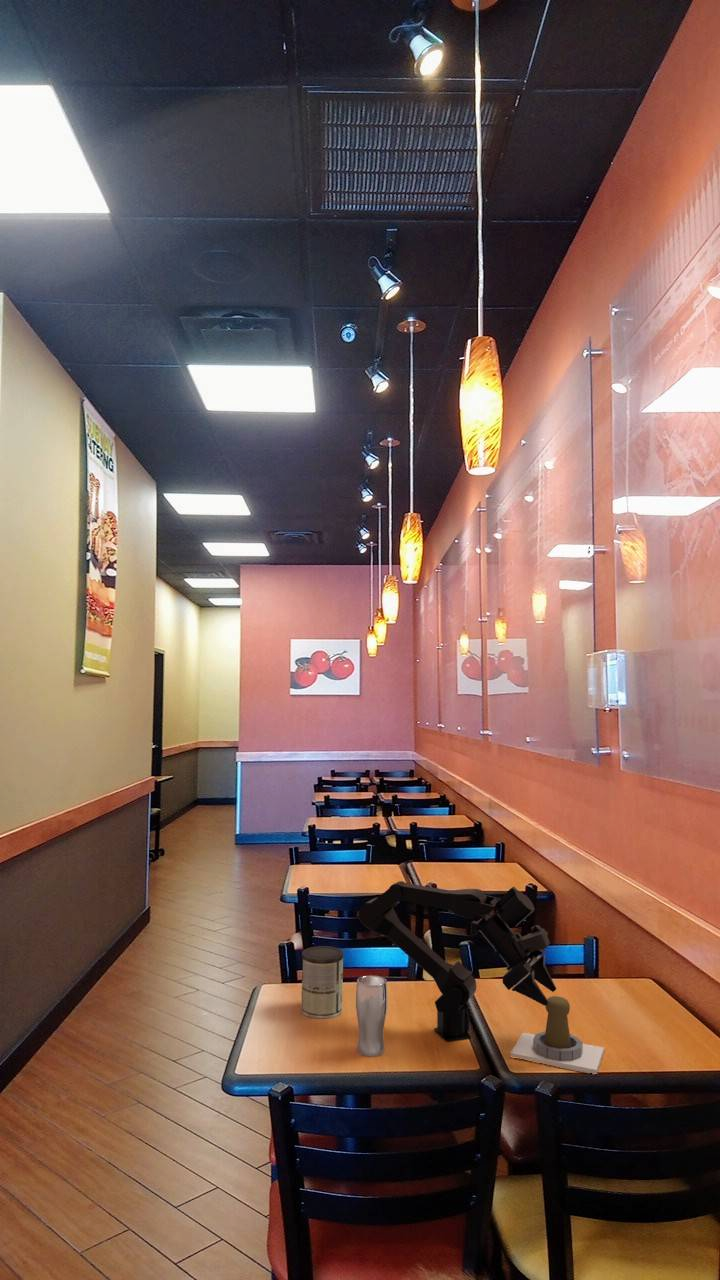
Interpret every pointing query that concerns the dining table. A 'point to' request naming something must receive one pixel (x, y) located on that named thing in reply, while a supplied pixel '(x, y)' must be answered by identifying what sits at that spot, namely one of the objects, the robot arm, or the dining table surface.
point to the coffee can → (322, 982)
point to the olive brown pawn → (557, 1023)
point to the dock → (559, 1053)
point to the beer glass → (371, 1014)
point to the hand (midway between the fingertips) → (550, 997)
